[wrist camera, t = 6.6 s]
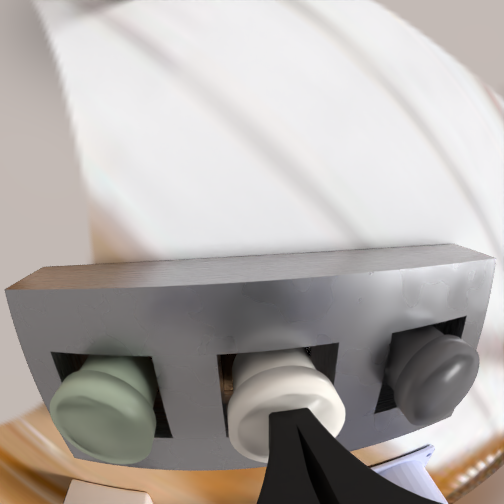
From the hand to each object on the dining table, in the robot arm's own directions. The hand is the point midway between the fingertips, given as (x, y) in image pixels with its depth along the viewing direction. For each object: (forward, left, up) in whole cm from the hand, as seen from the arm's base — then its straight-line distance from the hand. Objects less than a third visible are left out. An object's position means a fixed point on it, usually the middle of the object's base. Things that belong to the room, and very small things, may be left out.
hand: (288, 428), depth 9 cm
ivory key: (0, 0, -4) cm, 4 cm away
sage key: (0, +7, -4) cm, 8 cm away
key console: (0, 0, -5) cm, 5 cm away
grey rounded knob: (0, -7, -4) cm, 8 cm away
